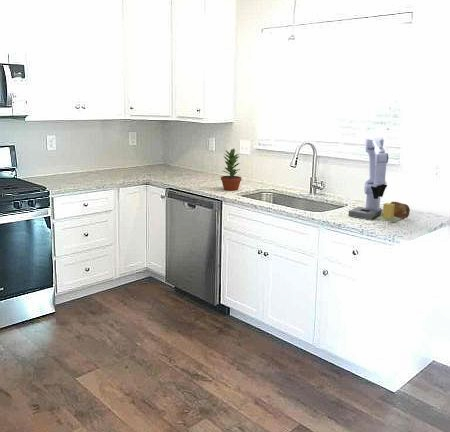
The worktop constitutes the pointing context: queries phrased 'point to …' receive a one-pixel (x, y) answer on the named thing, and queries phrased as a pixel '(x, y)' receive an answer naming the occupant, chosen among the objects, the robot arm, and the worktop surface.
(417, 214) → the worktop surface
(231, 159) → the potted plant
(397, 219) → the mat
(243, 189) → the worktop surface
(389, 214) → the plug
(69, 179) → the worktop surface
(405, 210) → the tin
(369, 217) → the square hole plate
